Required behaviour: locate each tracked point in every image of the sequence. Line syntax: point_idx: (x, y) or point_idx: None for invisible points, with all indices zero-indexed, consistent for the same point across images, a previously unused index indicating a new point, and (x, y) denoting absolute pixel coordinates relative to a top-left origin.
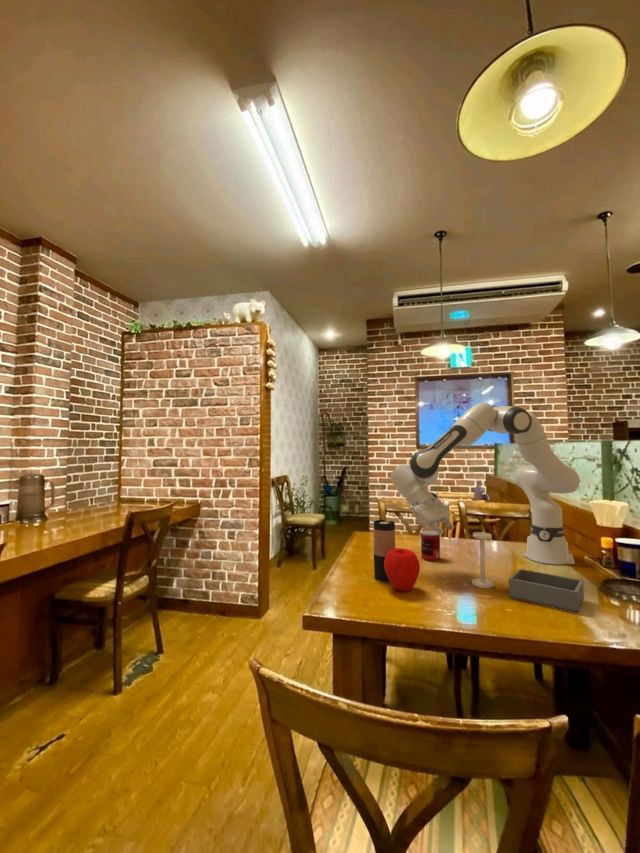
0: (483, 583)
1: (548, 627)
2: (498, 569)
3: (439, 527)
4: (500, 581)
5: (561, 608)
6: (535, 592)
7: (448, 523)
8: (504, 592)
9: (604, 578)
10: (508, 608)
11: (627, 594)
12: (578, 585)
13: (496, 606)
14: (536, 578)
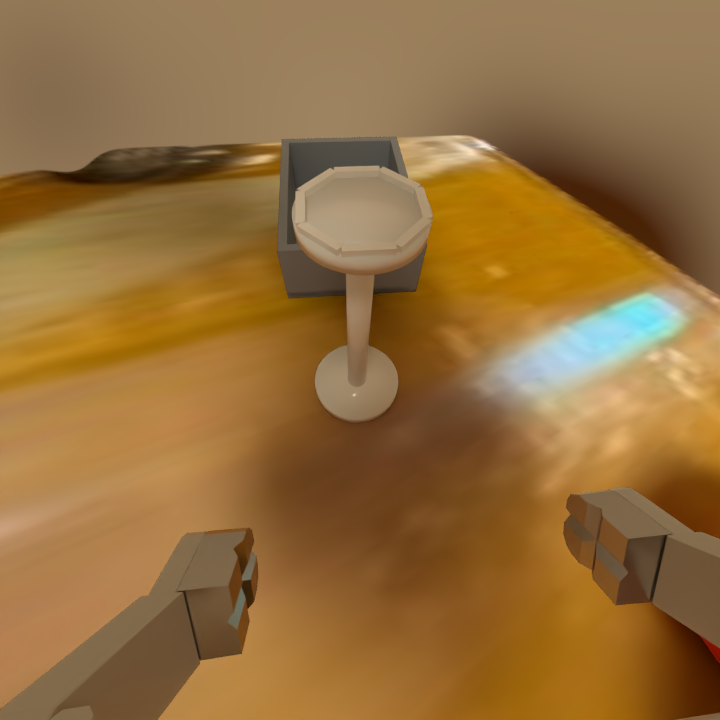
0: (373, 370)
1: (510, 205)
2: (93, 414)
3: (684, 537)
4: (269, 355)
5: None
6: None
7: (159, 654)
8: (376, 313)
9: (57, 183)
10: (488, 273)
11: (182, 150)
12: (337, 140)
13: (503, 294)
14: (290, 228)
